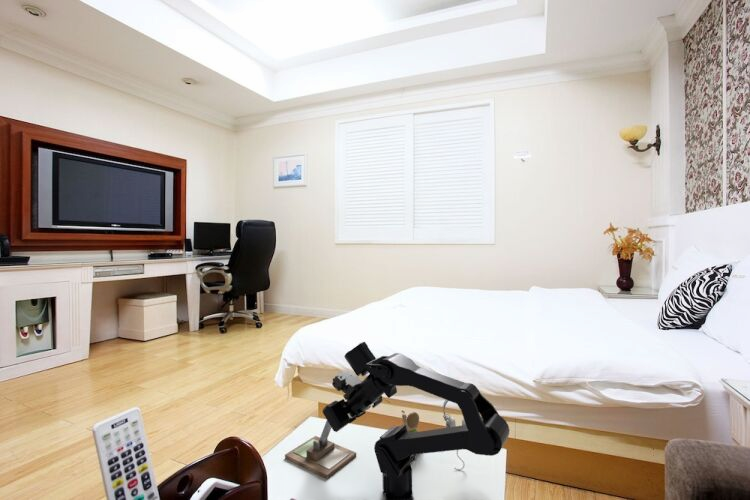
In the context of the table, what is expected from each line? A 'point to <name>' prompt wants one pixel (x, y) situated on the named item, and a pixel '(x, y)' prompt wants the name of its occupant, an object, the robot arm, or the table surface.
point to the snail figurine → (411, 421)
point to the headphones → (451, 424)
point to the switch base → (315, 466)
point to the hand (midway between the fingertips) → (337, 421)
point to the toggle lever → (325, 434)
